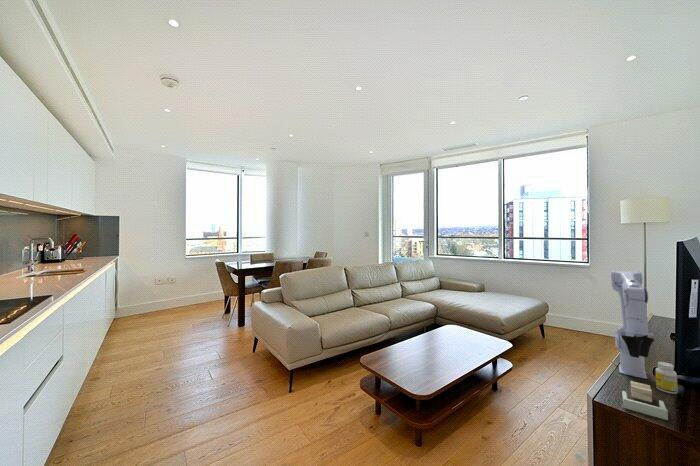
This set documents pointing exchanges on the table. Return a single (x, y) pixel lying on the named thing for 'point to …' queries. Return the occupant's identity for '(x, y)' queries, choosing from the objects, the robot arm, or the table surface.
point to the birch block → (641, 391)
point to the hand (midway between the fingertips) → (639, 356)
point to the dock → (645, 407)
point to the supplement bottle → (666, 378)
